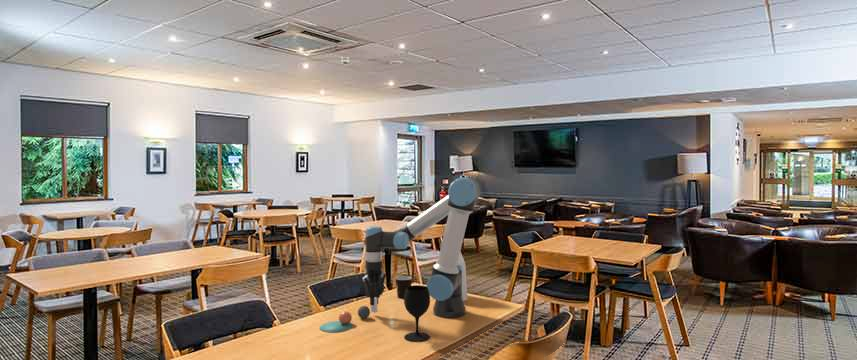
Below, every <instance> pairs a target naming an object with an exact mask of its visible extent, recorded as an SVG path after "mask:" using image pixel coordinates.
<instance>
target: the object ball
mask: <svg viewBox="0 0 857 360" xmlns="http://www.w3.org/2000/svg"><path fill="white" fill-rule="evenodd" d="M352 319H353V318H352V314H351V313H350V312H349V311H342V312H341V313H339V316H338V321H340V323H341V324H344V325H346V324H349V323H351V321H352Z"/></svg>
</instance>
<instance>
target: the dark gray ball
mask: <svg viewBox="0 0 857 360" xmlns="http://www.w3.org/2000/svg"><path fill="white" fill-rule="evenodd" d="M370 313H371V308H369V307H368V306H367V305H362V306H360V307H359V308H358V310H357V315H358V317H359V318H360V319H363V320H365V319H368V317H369V316H370Z"/></svg>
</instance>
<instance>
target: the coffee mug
mask: <svg viewBox="0 0 857 360" xmlns="http://www.w3.org/2000/svg"><path fill="white" fill-rule="evenodd" d="M412 281H413V277H412V276H409V275H407V276H406V275H400V276H396V277H395V286H396V293H397V294H396V295H397V298H398V299H401V300H402V299H403V300H404V295H405V291H406V288H407V287H409V286H412Z"/></svg>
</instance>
